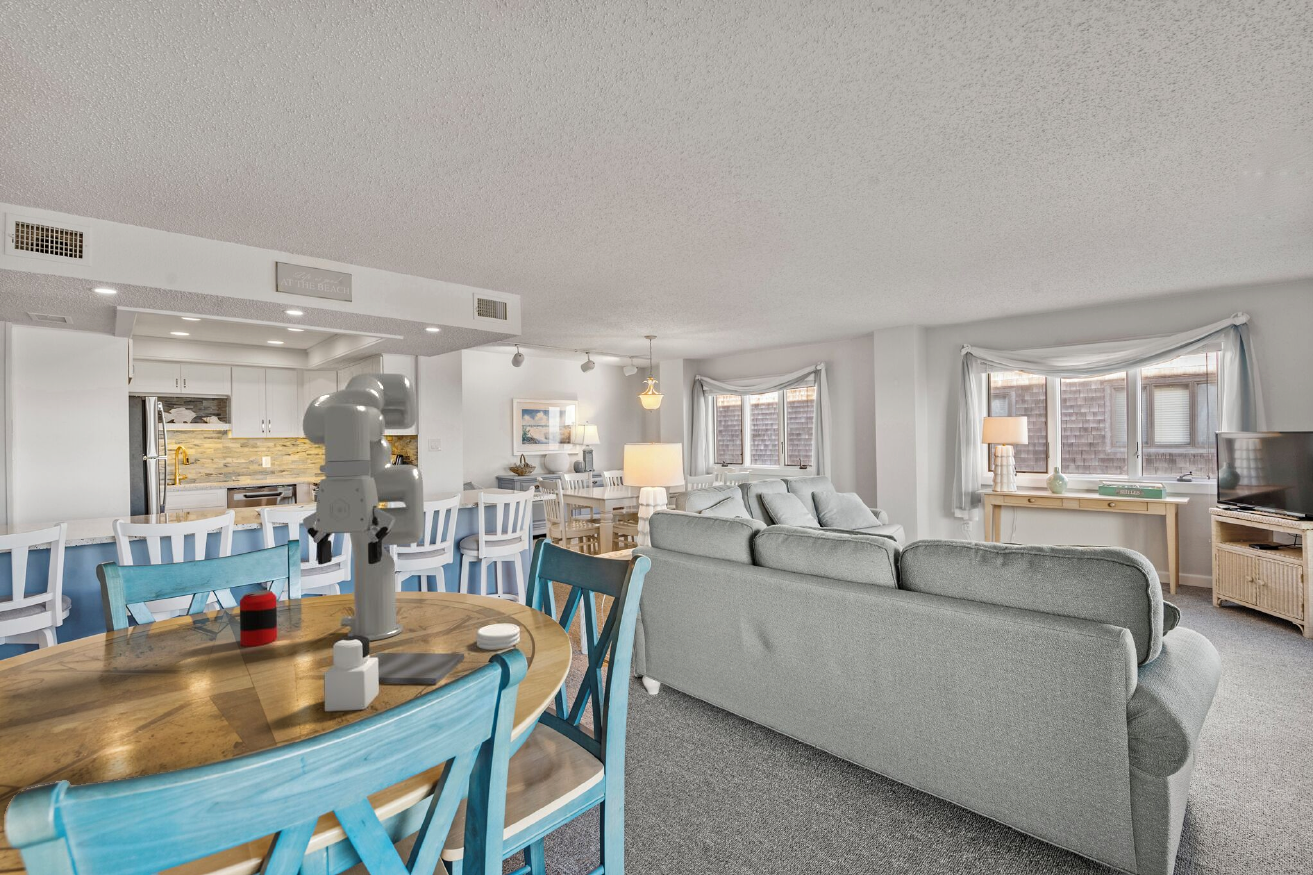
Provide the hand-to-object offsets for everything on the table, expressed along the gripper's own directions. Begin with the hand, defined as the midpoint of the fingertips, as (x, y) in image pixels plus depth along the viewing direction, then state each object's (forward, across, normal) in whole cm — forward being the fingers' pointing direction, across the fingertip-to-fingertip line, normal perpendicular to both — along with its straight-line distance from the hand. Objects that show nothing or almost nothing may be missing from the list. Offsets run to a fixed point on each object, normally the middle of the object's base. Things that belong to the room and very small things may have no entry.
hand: (349, 562), depth 114 cm
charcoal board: (+26, +2, +16) cm, 31 cm away
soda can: (+26, -44, +34) cm, 61 cm away
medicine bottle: (+26, 0, 0) cm, 26 cm away
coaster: (+26, +16, +34) cm, 46 cm away
